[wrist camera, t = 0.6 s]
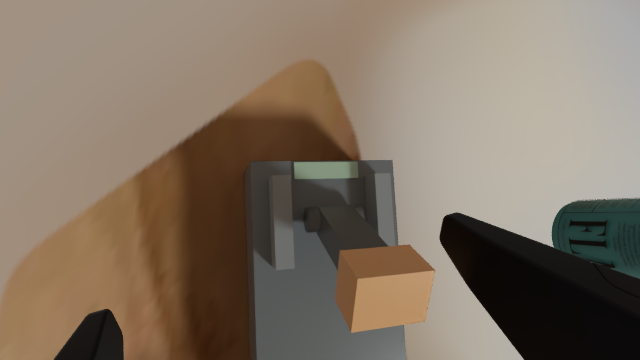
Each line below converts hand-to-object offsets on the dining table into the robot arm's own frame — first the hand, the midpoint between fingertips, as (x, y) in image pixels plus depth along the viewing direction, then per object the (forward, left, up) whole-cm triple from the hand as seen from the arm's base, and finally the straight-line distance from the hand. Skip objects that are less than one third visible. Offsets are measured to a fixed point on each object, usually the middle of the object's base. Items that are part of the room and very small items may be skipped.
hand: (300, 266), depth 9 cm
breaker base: (-5, -1, -16) cm, 17 cm away
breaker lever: (-2, -4, -10) cm, 11 cm away
